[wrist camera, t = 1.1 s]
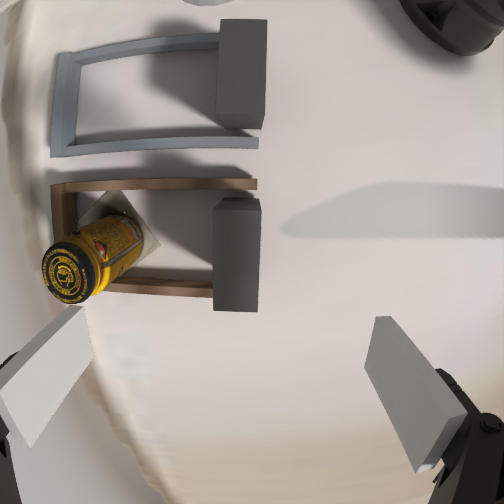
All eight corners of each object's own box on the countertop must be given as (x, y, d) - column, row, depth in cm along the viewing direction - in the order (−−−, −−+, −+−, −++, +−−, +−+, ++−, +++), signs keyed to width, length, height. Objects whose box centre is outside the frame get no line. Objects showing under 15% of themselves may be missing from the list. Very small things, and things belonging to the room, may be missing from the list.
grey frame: (263, 40, 26) (267, 0, 18) (260, 149, 30) (263, 141, 21) (72, 60, 26) (29, 40, 18) (64, 157, 29) (15, 158, 21)
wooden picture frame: (259, 178, 30) (262, 183, 22) (255, 291, 34) (256, 333, 25) (64, 182, 30) (15, 191, 22) (73, 281, 33) (33, 312, 25)
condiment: (117, 279, 34) (67, 327, 22) (76, 222, 32) (11, 249, 21) (161, 244, 33) (118, 284, 21) (117, 183, 31) (55, 194, 19)
